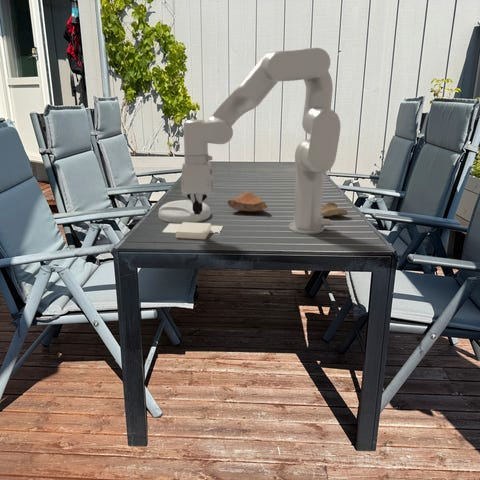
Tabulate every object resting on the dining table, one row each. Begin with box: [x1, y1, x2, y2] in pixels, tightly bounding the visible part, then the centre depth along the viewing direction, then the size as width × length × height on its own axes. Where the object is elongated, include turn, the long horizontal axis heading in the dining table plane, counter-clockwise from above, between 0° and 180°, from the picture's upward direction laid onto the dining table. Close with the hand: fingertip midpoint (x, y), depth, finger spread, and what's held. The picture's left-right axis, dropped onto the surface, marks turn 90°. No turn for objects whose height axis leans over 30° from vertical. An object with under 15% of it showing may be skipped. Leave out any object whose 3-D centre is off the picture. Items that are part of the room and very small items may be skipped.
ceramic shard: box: [227, 190, 268, 212], centre depth 187 cm, size 15×6×15 cm
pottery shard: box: [321, 202, 349, 217], centre depth 181 cm, size 11×4×10 cm
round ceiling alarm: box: [158, 199, 211, 224], centre depth 179 cm, size 25×25×6 cm
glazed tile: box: [175, 222, 212, 240], centre depth 157 cm, size 2×10×10 cm
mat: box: [162, 222, 224, 234], centre depth 158 cm, size 20×20×1 cm
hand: (197, 213), depth 154 cm, fingers closed
